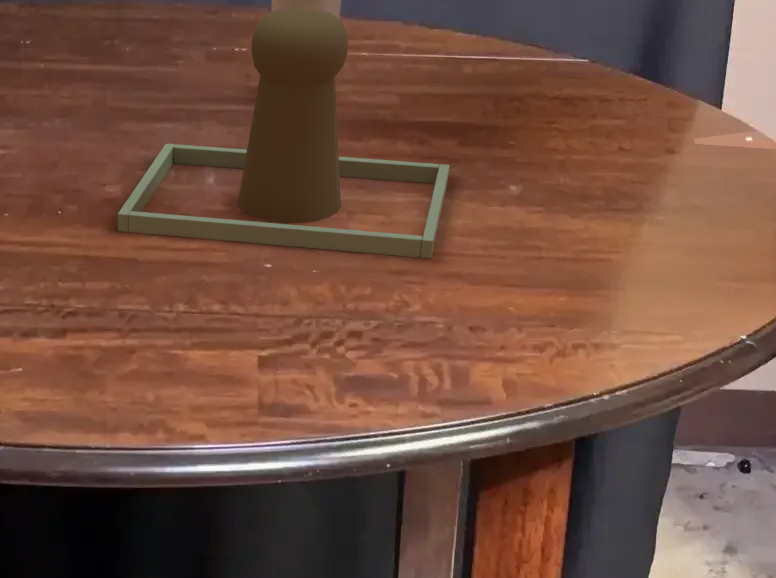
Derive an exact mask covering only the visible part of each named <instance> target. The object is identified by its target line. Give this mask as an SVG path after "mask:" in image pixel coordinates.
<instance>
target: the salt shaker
mask: <svg viewBox="0 0 776 578" xmlns="http://www.w3.org/2000/svg"><path fill="white" fill-rule="evenodd" d="M291 8H309V9H316V10H321V11H325V12H329V13H331V14H333V15H335V16H336V17H338V18H339V19H341V10H342V0H270V10H269V11H270V12H269V13H271V12H274V11H278V10H283V9H291Z"/></svg>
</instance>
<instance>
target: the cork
mask: <svg viewBox="0 0 776 578" xmlns="http://www.w3.org/2000/svg"><path fill="white" fill-rule="evenodd" d="M250 48H251V50H250V51H251V56H252V62H253V65H254V68H255V70H256V71H257V73H258V74H259V80H258V86H257V92H256V97H255V103H254V109H253V114H252V119H251V124H250V129H249V130H250V131H249V137H248V142H247V147H246V150H247V153H246V159H245V164H244V169H242V176H241V182H240V187H239V194H238V199H237V205H238V208H239V209H240V210H241V211H242V212H243V213H244V214H247V216H248V215H249V216H251V217H253V218H255V219H258V220H259V219H260V220H263V221H268V222H271V223H280V224H304V223H313V222H319V221H322V220H325V219H326V220H327V219H328V218H331V217H333V216H334V215H336V214H338V213H339V211H340V209H341V207H342V203H341V201H342V200H341V182H340V181H341V179H340V177H341V176H339V157H340V155H339V137H338V136H339V135H338V118H337V117H338V115H337V114H338V113H337V97H336V96H337V94H336V77H337V76H338V74H339V72H340V71H341V70H342V69H343V67H344V65H345V63H346V59H347V56H348V49H349V39H348V32H347V30H346V26H345V25H344V23H343V21H342V20H341V18H340V19H339V18H338V17H336V16H335V15H333V14H331V13H329V12H325V11H321V10H316V9H309V8H291V9H283V10H278V11H274V12H271V13H270V12H269V13H267V14H265V15H264V16H263V17H261V18H260V20H259V21H258V23H257V24H256V26H255V28H254V30H253V34H252V37H251V47H250Z"/></svg>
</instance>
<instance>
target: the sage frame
mask: <svg viewBox="0 0 776 578" xmlns="http://www.w3.org/2000/svg"><path fill="white" fill-rule="evenodd" d="M246 153H247V149H244V148H232V147H231V148H230V147H218V146H217V147H216V146H203V145H202V146H201V145H192V144H191V145H190V144H177V143H165V144H164V145H163V147H162V148H161V150H160V151H159V153H158V154H157V155H156V157H155V159H154V160H153V161H152V162H151V164H150V165H149V167H148V169H147V170H146V171H145V172H144V175H143V176H142V178H141V179H140V181H139V182H138V183H137V185H136V186H135V188H134V189H133V191H132V192H131V194H130V195H129V197H128V198H127V200H125V202H124V204H123V205H122V207H121V209H120V210H119V211H118V212H117V232H123V233H124V232H125V233H135V234H147V235H159V236H169V237H171V236H172V237H181V238H193V239H203V240H204V239H205V240H215V241H216V240H217V241H225V242H226V241H227V242H238V243H250V244H261V245H272V246H284V247H296V248H308V249H316V250H317V249H319V250H327V251H328V250H329V251H340V252H352V253H353V252H354V253H363V254H376V255H385V256H386V255H387V256H397V257H408V258H409V257H410V258H421V259H431V258H432V257H433V252H434V249H435V248H434V247H435V242H436V239H437V233H438V229H439V224H440V219H441V214H442V210H443V205H444V201H445V196H446V191H447V188H448V183H449V176H450V175H449V174H450V169H451V168H450V167H451V166H450V164H445V163H443V164H442V163H432V162H431V163H429V162H417V161H406V160H405V161H404V160H390V159H376V158H364V157H350V156H339V177H343V178H358V179H371V180H384V181H397V182H409V183H422V184H424V183H425V184H434V187H433V192H432V196H431V199H430V204H429V208H428V212H427V217H426V221H425V224H424V230H423V233H422V235H416V234H406V233H394V232H382V231H381V232H380V231H370V230H369V231H368V230H357V229H347V228H334V227H323V226H312V225H311V226H310V225H299V224H290V223H278V222H265V221H252V220H242V219H241V220H239V219H228V218H218V217H217V218H215V217H206V216H205V217H204V216H194V215H182V214H170V213H169V214H168V213H157V212H147V211H146V212H145V211H143V210H144V208H145V207H146V205H147V204H148V202H149V201H150V199H151V197H152V196H153V194H154V193H155V191H156V190H157V188H158V187H159V185H160V184H161V182H162V181H163V179H164V178H165V176H166V175H167V173H168V172H169V170H170V169H171V167H172V166H173V164H175V165H177V164H178V165H191V166H203V167H214V168H215V167H217V168H231V169H241V170H244V164H245V159H246Z"/></svg>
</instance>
